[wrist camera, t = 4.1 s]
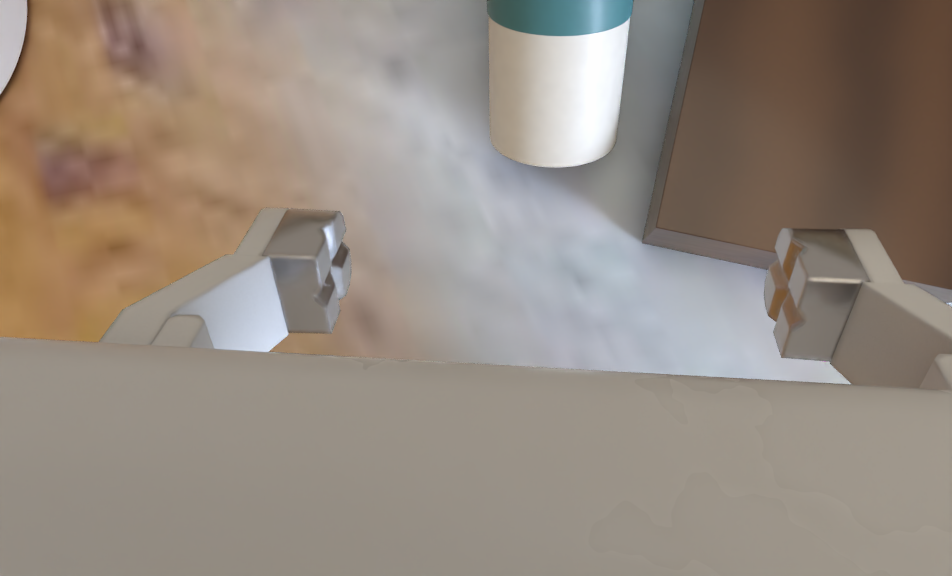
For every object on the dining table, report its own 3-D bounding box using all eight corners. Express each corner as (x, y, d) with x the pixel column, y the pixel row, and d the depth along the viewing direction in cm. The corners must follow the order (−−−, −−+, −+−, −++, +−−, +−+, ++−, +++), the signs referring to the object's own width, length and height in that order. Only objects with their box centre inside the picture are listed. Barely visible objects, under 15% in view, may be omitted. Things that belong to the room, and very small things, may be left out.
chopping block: (641, 242, 33) (655, 227, 29) (728, -158, 35) (753, -225, 31) (933, 305, 32) (989, 297, 28) (1011, -115, 33) (1074, -179, 30)
